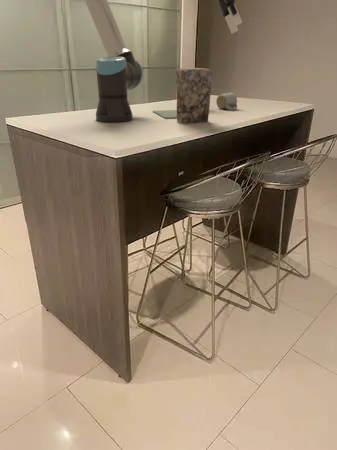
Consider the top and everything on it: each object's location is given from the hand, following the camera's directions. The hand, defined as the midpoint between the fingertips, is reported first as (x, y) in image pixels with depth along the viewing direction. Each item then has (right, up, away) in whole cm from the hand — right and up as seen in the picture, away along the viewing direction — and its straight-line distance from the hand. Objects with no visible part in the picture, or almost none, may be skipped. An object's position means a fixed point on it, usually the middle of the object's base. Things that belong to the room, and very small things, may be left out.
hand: (236, 28), depth 126 cm
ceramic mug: (+5, -14, +47) cm, 50 cm away
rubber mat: (-21, -22, +30) cm, 43 cm away
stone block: (-16, -31, +13) cm, 37 cm away
